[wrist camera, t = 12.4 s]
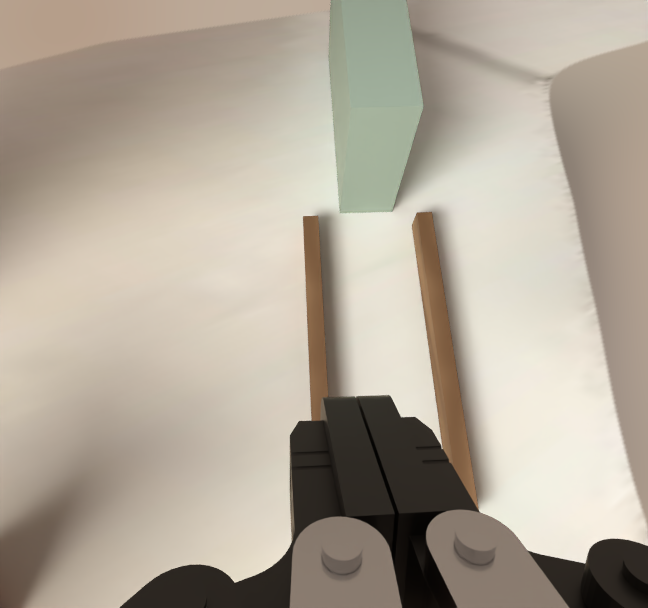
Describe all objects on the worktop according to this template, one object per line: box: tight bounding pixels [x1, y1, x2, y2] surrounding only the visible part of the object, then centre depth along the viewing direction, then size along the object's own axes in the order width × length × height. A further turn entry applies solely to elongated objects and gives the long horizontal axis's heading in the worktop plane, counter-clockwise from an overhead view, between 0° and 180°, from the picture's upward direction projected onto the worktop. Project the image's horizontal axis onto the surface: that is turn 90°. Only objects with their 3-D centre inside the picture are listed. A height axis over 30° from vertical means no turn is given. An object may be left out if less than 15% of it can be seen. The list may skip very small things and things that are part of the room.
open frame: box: [303, 212, 479, 510], centre depth 34 cm, size 10×22×2 cm, turn 3°
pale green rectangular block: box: [329, 0, 424, 213], centre depth 37 cm, size 4×18×12 cm, turn 3°
